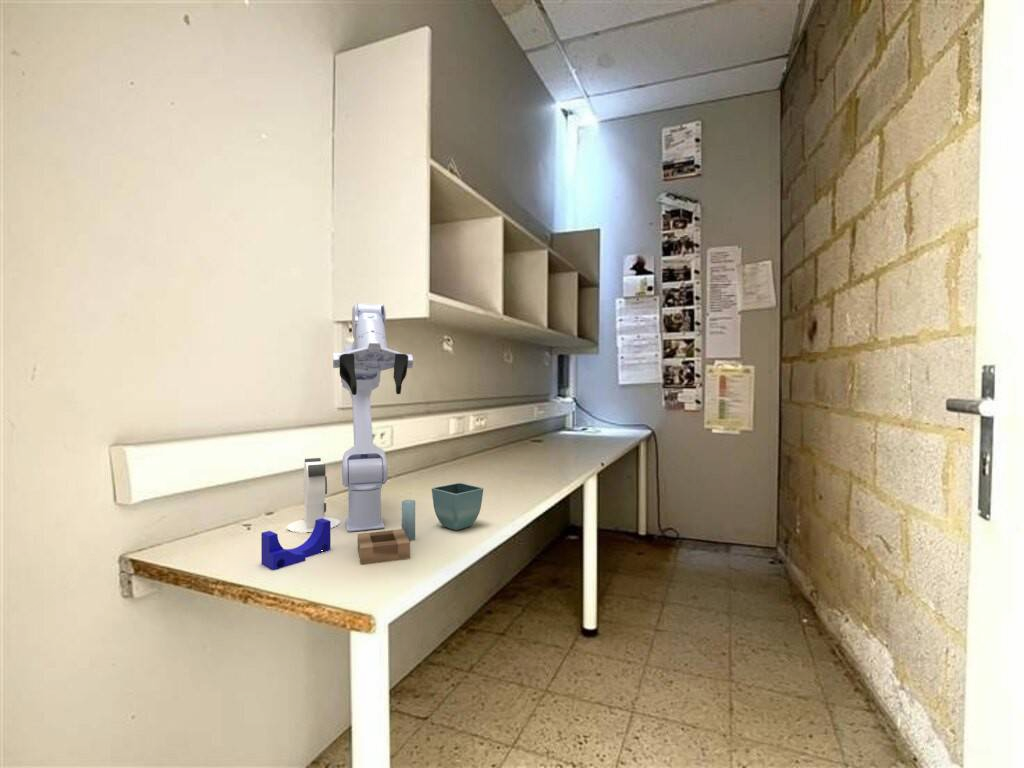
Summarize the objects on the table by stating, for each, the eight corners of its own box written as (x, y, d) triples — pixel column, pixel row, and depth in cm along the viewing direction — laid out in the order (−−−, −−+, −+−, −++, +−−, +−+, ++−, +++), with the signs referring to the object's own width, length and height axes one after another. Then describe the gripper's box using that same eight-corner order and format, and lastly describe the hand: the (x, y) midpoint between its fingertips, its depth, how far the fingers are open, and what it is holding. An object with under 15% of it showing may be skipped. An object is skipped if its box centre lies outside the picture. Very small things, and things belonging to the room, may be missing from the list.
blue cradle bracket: (273, 571, 87) (272, 537, 87) (261, 565, 89) (261, 532, 89) (334, 552, 96) (334, 522, 96) (322, 547, 99) (322, 518, 99)
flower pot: (484, 526, 113) (484, 487, 113) (456, 535, 106) (456, 494, 106) (459, 518, 119) (459, 482, 119) (430, 527, 112) (430, 488, 112)
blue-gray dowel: (400, 537, 105) (400, 500, 104) (414, 536, 106) (414, 499, 105) (402, 541, 102) (402, 503, 102) (416, 540, 103) (416, 502, 103)
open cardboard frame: (357, 548, 98) (357, 533, 98) (403, 543, 101) (403, 529, 101) (360, 564, 89) (360, 548, 89) (410, 558, 92) (410, 542, 92)
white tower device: (343, 529, 110) (343, 463, 110) (288, 537, 105) (288, 467, 105) (336, 516, 121) (336, 456, 121) (285, 522, 116) (285, 459, 116)
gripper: (332, 325, 91) (333, 373, 82) (410, 328, 97) (420, 373, 87) (332, 355, 96) (333, 403, 86) (407, 356, 101) (416, 401, 92)
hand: (377, 390), depth 87 cm, fingers open, 7 cm apart
